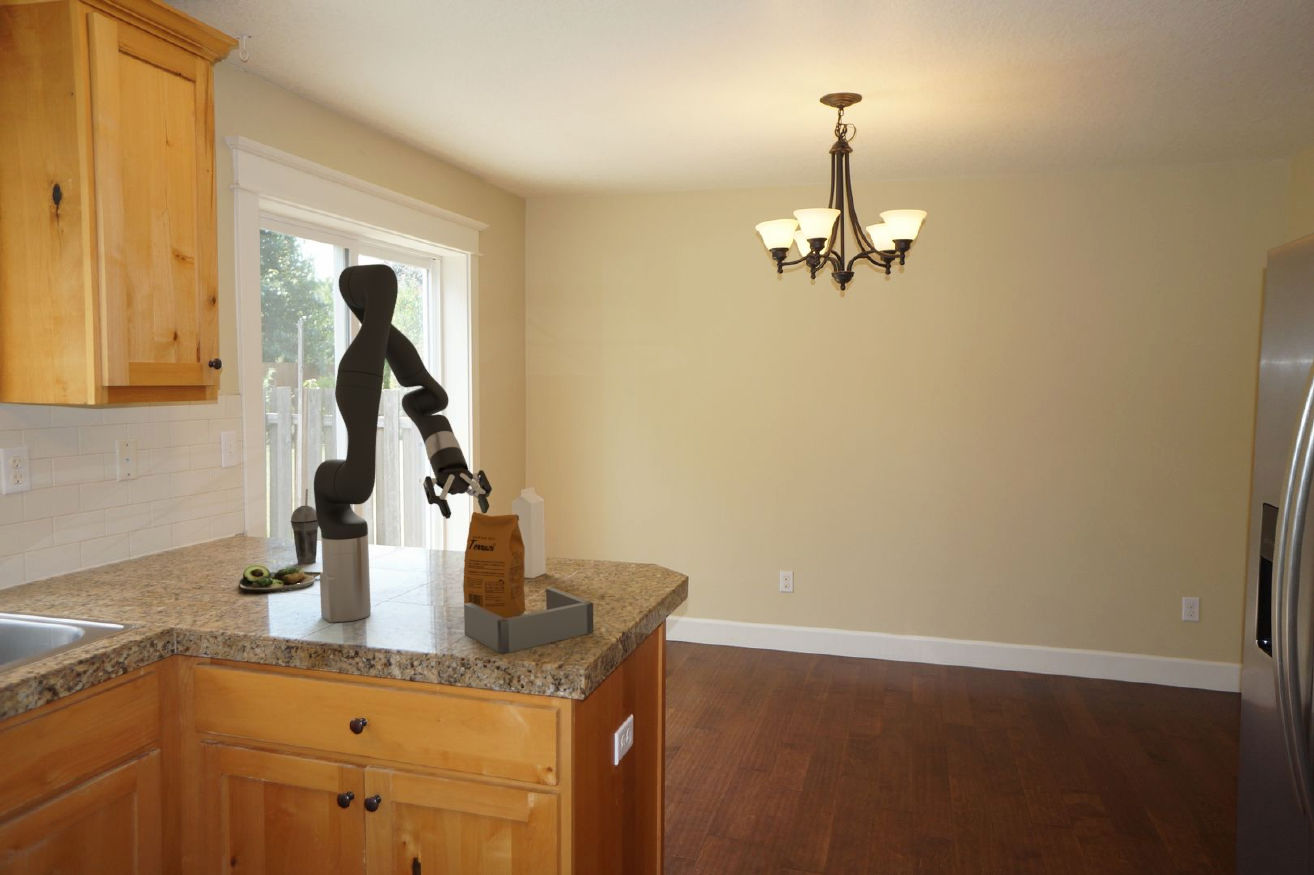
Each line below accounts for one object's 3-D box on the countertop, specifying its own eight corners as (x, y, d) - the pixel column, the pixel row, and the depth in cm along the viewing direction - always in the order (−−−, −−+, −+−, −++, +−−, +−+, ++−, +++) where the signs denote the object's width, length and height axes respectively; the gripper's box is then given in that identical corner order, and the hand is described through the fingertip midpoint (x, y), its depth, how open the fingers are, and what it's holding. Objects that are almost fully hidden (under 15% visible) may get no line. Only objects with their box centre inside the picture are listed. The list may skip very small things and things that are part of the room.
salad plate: (322, 572, 222) (321, 555, 221) (329, 588, 206) (328, 569, 205) (239, 581, 213) (238, 563, 213) (239, 598, 197) (238, 578, 197)
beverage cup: (286, 564, 230) (283, 490, 228) (304, 559, 237) (301, 487, 235) (308, 566, 227) (305, 491, 226) (326, 560, 234) (324, 488, 233)
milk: (512, 576, 215) (510, 489, 213) (526, 571, 220) (524, 486, 218) (533, 578, 212) (530, 490, 210) (546, 573, 218) (544, 487, 216)
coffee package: (482, 607, 186) (480, 507, 185) (532, 613, 182) (530, 511, 180) (455, 620, 177) (452, 515, 175) (507, 626, 173) (505, 518, 171)
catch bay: (501, 654, 156) (500, 621, 155) (464, 633, 168) (464, 603, 167) (593, 632, 168) (593, 602, 167) (552, 615, 180) (552, 587, 180)
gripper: (418, 448, 188) (440, 508, 181) (479, 442, 196) (502, 499, 189) (411, 469, 193) (432, 528, 186) (470, 462, 201) (493, 519, 194)
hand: (467, 513), depth 187 cm, fingers open, 8 cm apart
